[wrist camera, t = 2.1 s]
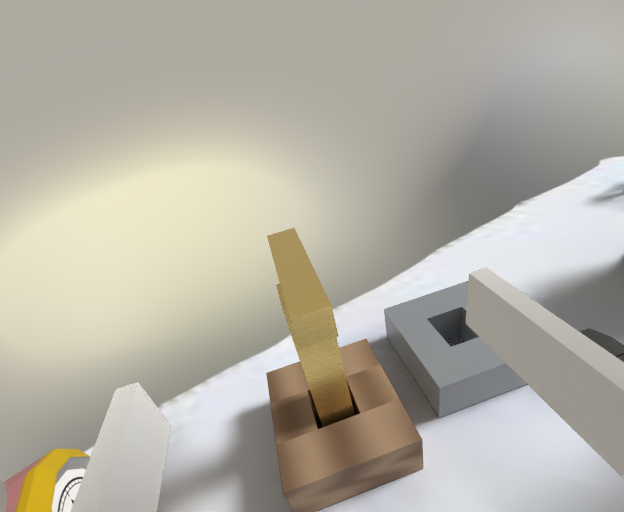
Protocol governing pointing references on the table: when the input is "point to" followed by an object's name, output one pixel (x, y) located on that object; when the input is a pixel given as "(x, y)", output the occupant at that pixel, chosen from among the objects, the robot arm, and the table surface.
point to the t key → (311, 327)
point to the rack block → (447, 351)
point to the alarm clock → (45, 483)
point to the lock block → (341, 434)
